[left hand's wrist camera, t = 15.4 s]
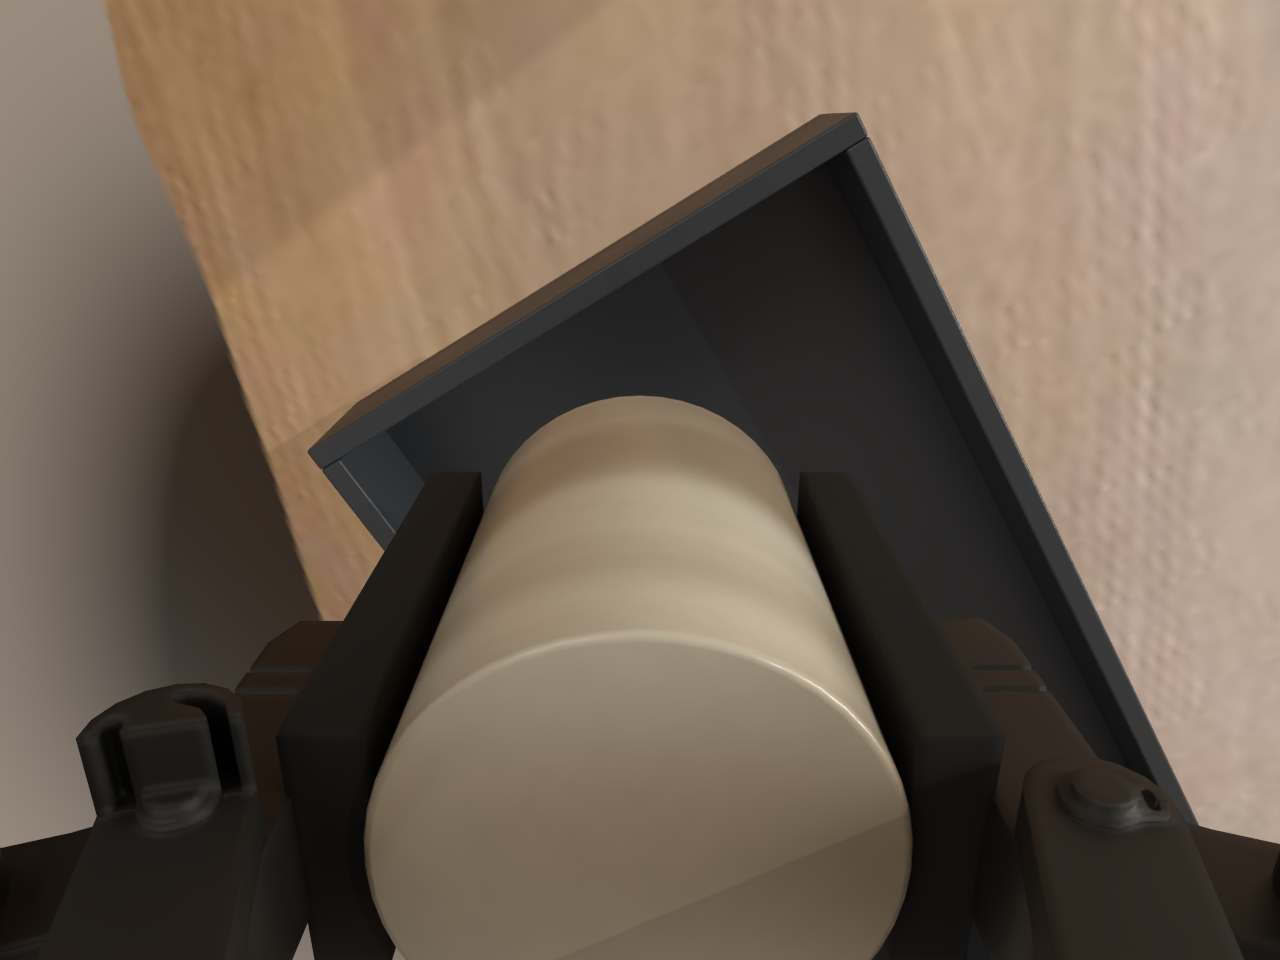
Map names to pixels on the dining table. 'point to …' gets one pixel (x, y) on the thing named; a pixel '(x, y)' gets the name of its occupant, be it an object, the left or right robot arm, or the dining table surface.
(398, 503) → the tray
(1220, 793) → the dining table surface
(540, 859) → the cylinder
